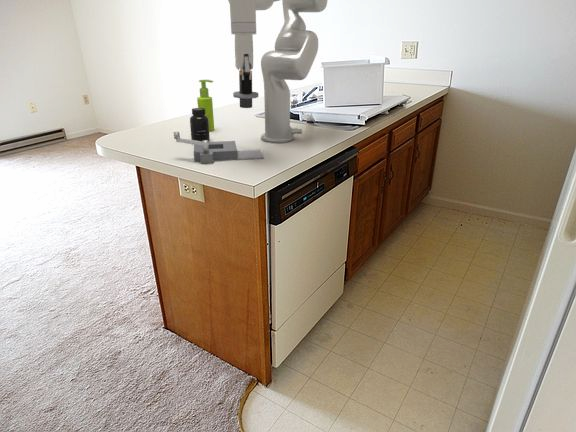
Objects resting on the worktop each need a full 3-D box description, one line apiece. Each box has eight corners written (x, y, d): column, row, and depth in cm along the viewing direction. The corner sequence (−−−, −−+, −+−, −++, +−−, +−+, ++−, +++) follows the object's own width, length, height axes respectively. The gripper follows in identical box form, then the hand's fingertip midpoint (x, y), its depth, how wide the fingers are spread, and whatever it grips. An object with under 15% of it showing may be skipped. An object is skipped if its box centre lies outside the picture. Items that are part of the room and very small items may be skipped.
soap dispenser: (213, 132, 168) (210, 81, 160) (197, 131, 169) (193, 80, 161) (218, 129, 173) (215, 79, 165) (203, 128, 175) (199, 78, 166)
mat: (260, 150, 146) (260, 149, 145) (263, 158, 138) (263, 157, 137) (234, 152, 144) (234, 150, 144) (236, 160, 136) (236, 158, 136)
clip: (177, 146, 138) (175, 131, 135) (210, 151, 133) (208, 135, 131) (174, 148, 136) (172, 132, 134) (207, 153, 132) (205, 137, 129)
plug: (256, 104, 138) (256, 69, 133) (259, 109, 131) (259, 72, 126) (232, 104, 137) (231, 69, 132) (234, 109, 130) (233, 72, 125)
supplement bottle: (201, 144, 152) (198, 111, 147) (187, 141, 156) (184, 109, 151) (213, 140, 158) (211, 108, 153) (200, 137, 161) (197, 106, 156)
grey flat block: (235, 149, 147) (234, 140, 146) (238, 161, 134) (238, 152, 133) (195, 151, 145) (194, 142, 144) (194, 164, 132) (193, 155, 131)
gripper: (229, 28, 131) (232, 88, 139) (232, 29, 116) (236, 97, 124) (253, 28, 132) (255, 87, 140) (259, 29, 117) (261, 96, 125)
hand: (246, 91), depth 132 cm, fingers closed on plug, 4 cm apart
